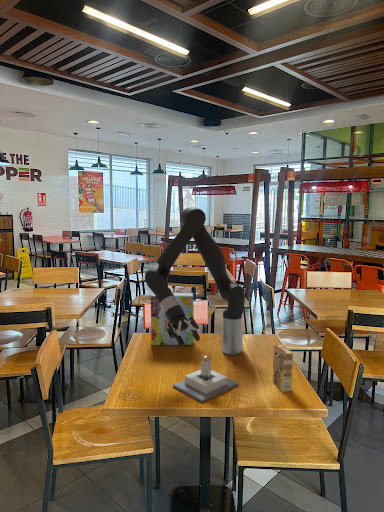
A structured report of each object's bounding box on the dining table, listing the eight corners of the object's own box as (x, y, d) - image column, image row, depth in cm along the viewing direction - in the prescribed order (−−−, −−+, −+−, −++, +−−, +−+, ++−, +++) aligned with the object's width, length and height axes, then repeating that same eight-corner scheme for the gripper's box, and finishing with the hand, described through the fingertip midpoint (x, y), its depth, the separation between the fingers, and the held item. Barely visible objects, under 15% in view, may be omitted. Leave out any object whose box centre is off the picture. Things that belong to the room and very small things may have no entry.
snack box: (193, 340, 196) (194, 292, 192) (193, 346, 187) (194, 296, 184) (152, 339, 196) (152, 291, 193) (150, 345, 187) (150, 295, 184)
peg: (205, 380, 147) (206, 353, 146) (212, 383, 144) (213, 356, 143) (198, 383, 145) (198, 356, 143) (205, 386, 142) (206, 359, 140)
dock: (209, 372, 157) (209, 363, 157) (238, 385, 146) (238, 375, 145) (173, 386, 143) (173, 377, 143) (202, 402, 132) (202, 392, 131)
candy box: (292, 391, 141) (294, 352, 139) (281, 392, 140) (283, 353, 138) (281, 380, 150) (283, 344, 148) (271, 381, 149) (273, 345, 147)
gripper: (163, 307, 149) (182, 342, 142) (189, 301, 159) (207, 334, 152) (155, 317, 153) (173, 351, 147) (180, 311, 163) (198, 343, 156)
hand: (190, 342), depth 149 cm, fingers open, 8 cm apart
